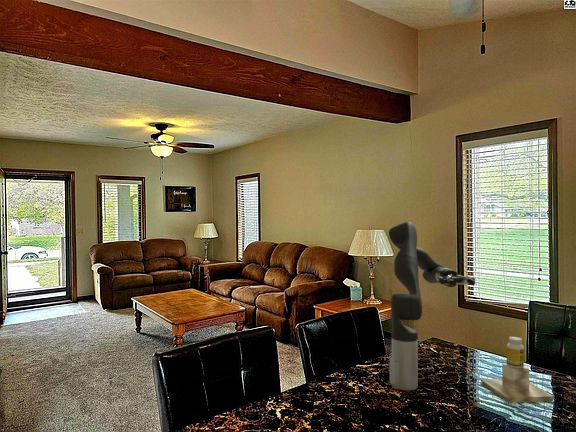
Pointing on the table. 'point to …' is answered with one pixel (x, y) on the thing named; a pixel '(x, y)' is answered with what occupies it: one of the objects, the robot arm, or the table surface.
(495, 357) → the table surface
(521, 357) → the supplement bottle
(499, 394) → the pedestal
